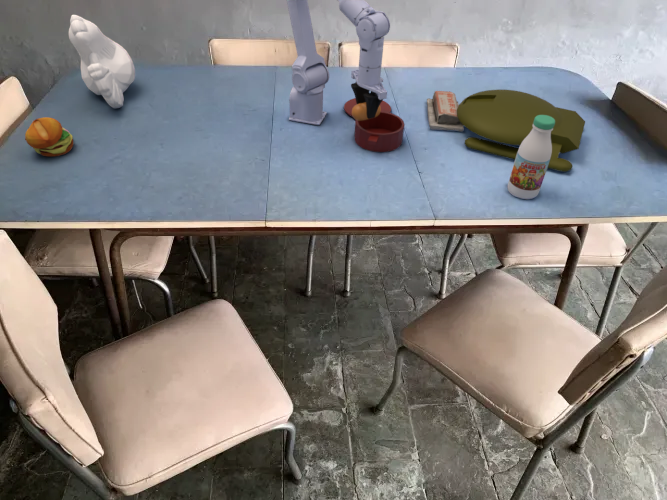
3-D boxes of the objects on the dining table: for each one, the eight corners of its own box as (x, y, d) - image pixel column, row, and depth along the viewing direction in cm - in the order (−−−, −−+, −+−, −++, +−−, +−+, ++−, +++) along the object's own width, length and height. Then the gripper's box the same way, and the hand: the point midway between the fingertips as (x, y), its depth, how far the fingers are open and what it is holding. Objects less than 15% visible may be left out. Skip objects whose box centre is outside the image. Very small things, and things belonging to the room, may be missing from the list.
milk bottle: (502, 182, 140) (523, 110, 127) (531, 182, 141) (555, 110, 128) (512, 200, 134) (535, 127, 121) (542, 199, 135) (568, 126, 122)
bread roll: (356, 125, 145) (357, 109, 142) (348, 117, 148) (349, 102, 145) (383, 118, 148) (384, 103, 145) (374, 111, 151) (376, 96, 148)
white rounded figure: (89, 56, 175) (43, 8, 150) (137, 47, 174) (99, -2, 150) (95, 129, 170) (49, 92, 146) (145, 119, 170) (107, 81, 145)
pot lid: (338, 117, 164) (339, 102, 161) (350, 97, 174) (351, 83, 171) (385, 125, 161) (387, 110, 158) (394, 104, 172) (396, 90, 168)
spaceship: (582, 126, 165) (593, 95, 158) (569, 176, 143) (582, 143, 137) (468, 100, 175) (474, 71, 169) (440, 143, 154) (446, 111, 148)
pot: (346, 152, 149) (347, 134, 145) (363, 120, 163) (364, 103, 159) (395, 160, 146) (397, 142, 143) (407, 128, 160) (409, 111, 157)
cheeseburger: (85, 142, 148) (70, 113, 140) (62, 169, 142) (44, 141, 134) (54, 134, 150) (37, 105, 142) (30, 161, 144) (10, 132, 136)
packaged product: (428, 88, 170) (460, 90, 170) (425, 102, 173) (457, 104, 173) (431, 115, 156) (466, 117, 156) (429, 130, 160) (463, 132, 159)
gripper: (399, 72, 135) (393, 122, 144) (368, 51, 144) (365, 99, 153) (375, 77, 132) (370, 127, 141) (345, 55, 141) (343, 104, 150)
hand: (366, 113), depth 147 cm, fingers closed on bread roll, 4 cm apart
